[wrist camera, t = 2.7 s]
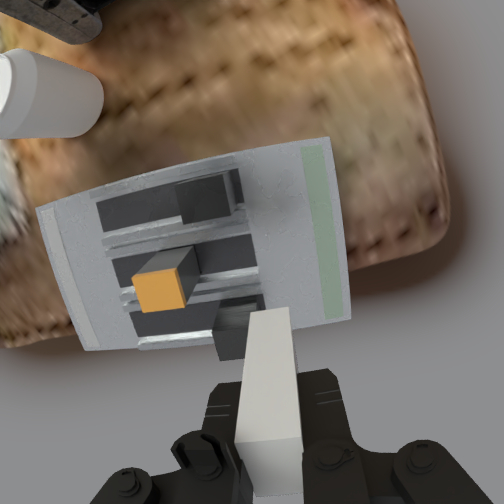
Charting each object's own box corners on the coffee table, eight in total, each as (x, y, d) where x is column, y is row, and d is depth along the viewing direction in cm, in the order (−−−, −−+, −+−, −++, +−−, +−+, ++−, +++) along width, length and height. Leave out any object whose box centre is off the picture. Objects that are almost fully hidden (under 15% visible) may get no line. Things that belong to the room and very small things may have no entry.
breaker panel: (93, 341, 31) (62, 378, 24) (47, 204, 27) (0, 219, 20) (346, 308, 28) (366, 351, 22) (324, 137, 24) (345, 132, 17)
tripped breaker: (166, 281, 26) (142, 312, 20) (157, 252, 25) (131, 278, 20) (200, 275, 25) (184, 307, 20) (193, 245, 25) (174, 270, 19)
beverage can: (44, 123, 24) (-49, 122, 13) (73, 64, 22) (-15, 36, 11) (88, 149, 25) (-6, 156, 13) (120, 86, 23) (35, 55, 12)
